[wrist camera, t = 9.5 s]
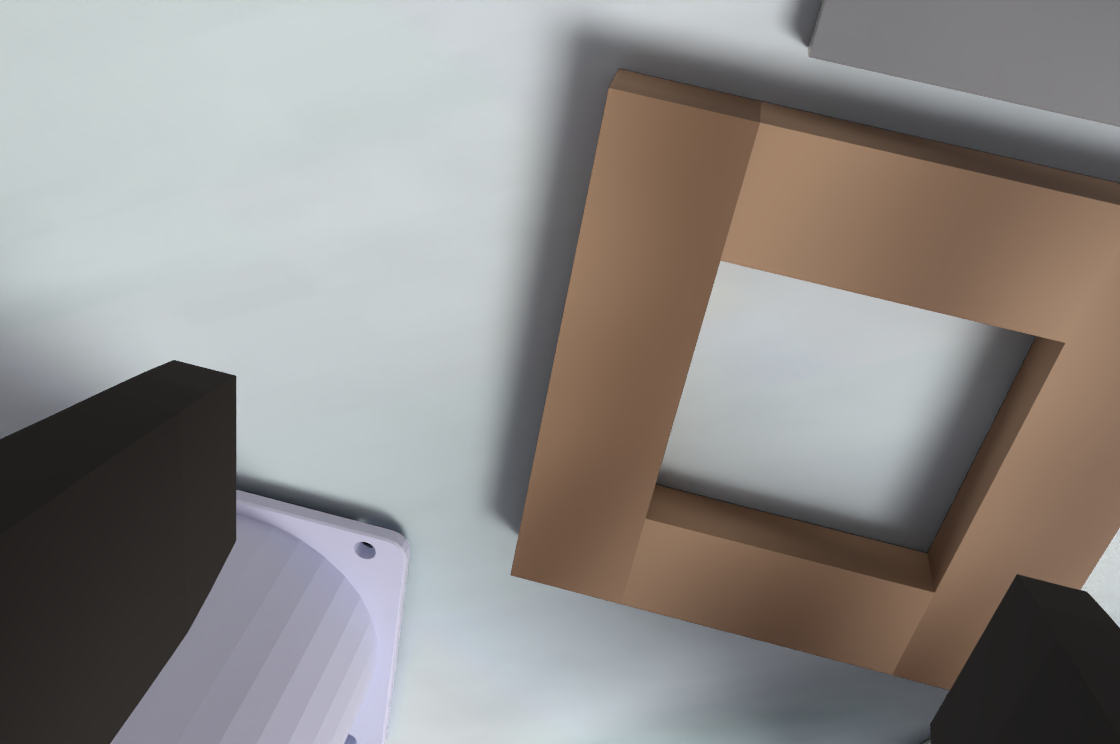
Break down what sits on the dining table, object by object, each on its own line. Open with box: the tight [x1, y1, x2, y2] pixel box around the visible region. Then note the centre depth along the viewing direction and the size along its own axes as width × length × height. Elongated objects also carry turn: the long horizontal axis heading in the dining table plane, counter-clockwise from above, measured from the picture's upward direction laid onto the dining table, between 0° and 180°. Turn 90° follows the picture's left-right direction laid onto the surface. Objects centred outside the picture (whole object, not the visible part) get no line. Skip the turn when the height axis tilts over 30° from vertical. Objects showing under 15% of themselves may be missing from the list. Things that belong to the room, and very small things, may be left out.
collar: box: [511, 69, 1120, 690], centre depth 20 cm, size 11×11×1 cm
